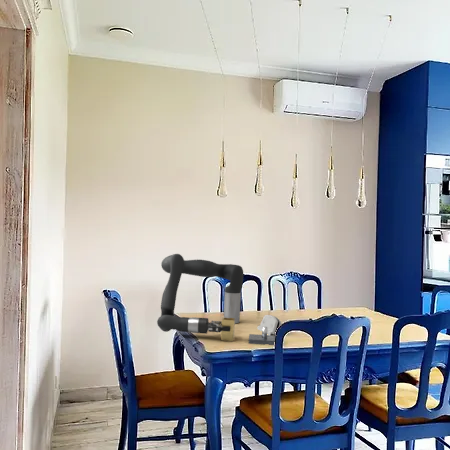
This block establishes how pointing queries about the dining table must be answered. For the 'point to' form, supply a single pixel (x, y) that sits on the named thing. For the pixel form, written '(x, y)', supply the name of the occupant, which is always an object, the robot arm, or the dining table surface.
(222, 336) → the tan rectangular block
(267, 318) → the hinge
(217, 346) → the dining table surface
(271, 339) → the shaft stand
